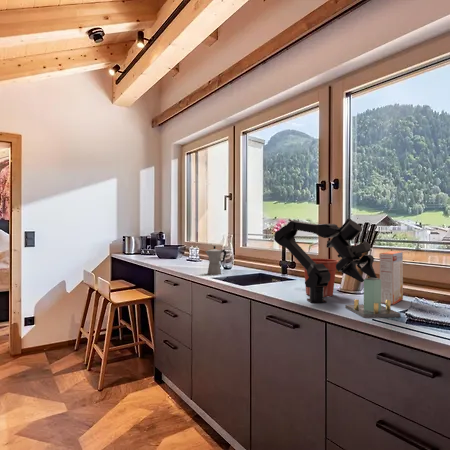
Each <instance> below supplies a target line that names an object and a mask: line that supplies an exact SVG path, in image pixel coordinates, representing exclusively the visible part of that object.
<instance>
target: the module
mask: <svg viewBox="0 0 450 450" xmlns="http://www.w3.org/2000/svg"><path fill="white" fill-rule="evenodd" d="M363 279H364V278H363ZM374 303H379V308H378V310H381V306H382V303H381V279H380V277H377V278H371V277H366V278H365V279H364V281H363V305H364V309H365V310H370V311H374Z"/></svg>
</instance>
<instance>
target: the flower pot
mask: <svg viewBox="0 0 450 450" xmlns="http://www.w3.org/2000/svg"><path fill="white" fill-rule="evenodd" d="M310 258H311V257H310ZM311 259H312V260H313V261H314V262H315V263H316V264H324V265H325V267H326V268H327V269H329V270H328V271H329V272H330V274H331V275H330V276H331V278H330V281H329V282H328V285H327V286H325V287H324V298H326V297H327V298H328V297H333V296H334V289H335V281H336V271H337V269H336V264H337V263H338V262H339V260H337V259H331V258H311ZM302 267H303V266H302ZM303 271H304V272H303V273H304V282H305V281H306V280H307V279H308V278H309V277H308V274H307V270H306V269H305V268H304V267H303ZM304 285H305V284H304ZM305 294H306V295H309V296H310V288H309V287H306V285H305Z"/></svg>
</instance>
